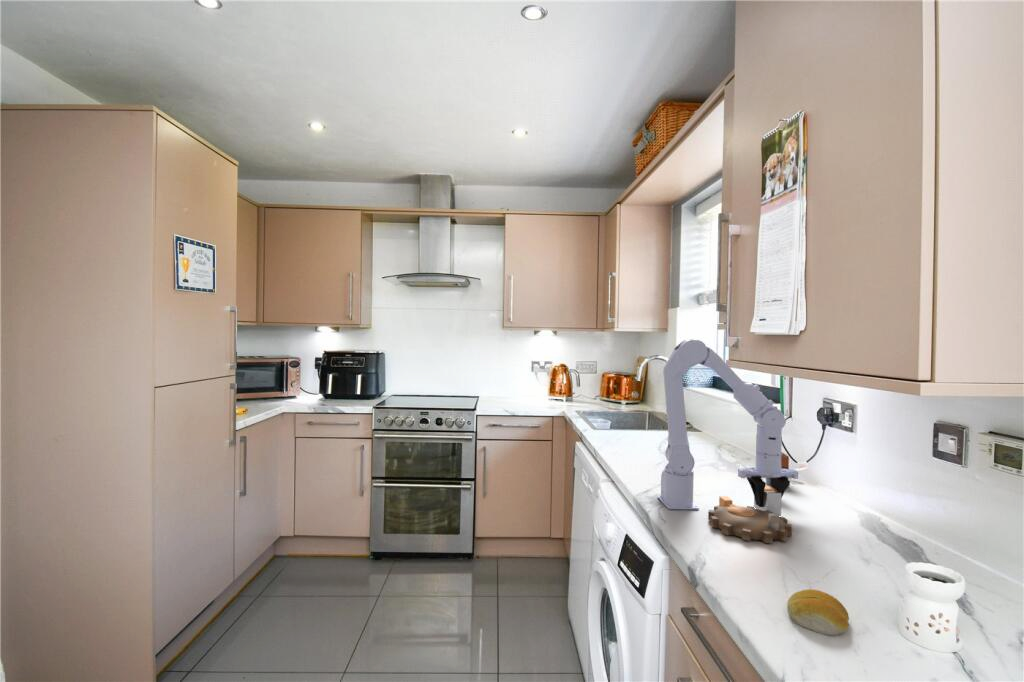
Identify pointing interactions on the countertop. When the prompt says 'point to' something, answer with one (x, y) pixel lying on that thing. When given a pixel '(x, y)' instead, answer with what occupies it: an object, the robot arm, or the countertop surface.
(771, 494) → the white banded box
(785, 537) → the brown gear wheel
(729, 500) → the block
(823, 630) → the bread roll
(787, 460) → the battery
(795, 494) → the countertop surface
